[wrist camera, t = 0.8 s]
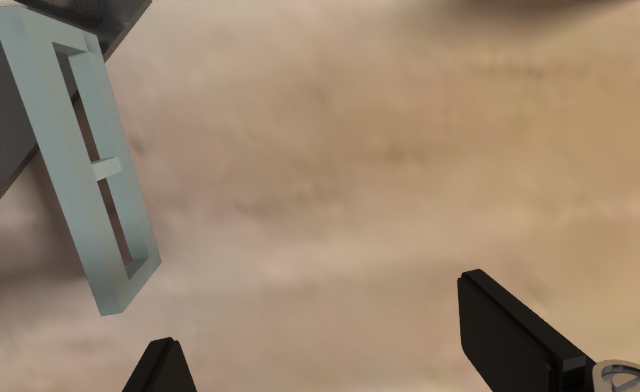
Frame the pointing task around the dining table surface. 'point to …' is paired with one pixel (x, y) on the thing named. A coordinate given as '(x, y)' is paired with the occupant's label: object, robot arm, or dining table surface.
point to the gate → (82, 151)
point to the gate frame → (83, 13)
